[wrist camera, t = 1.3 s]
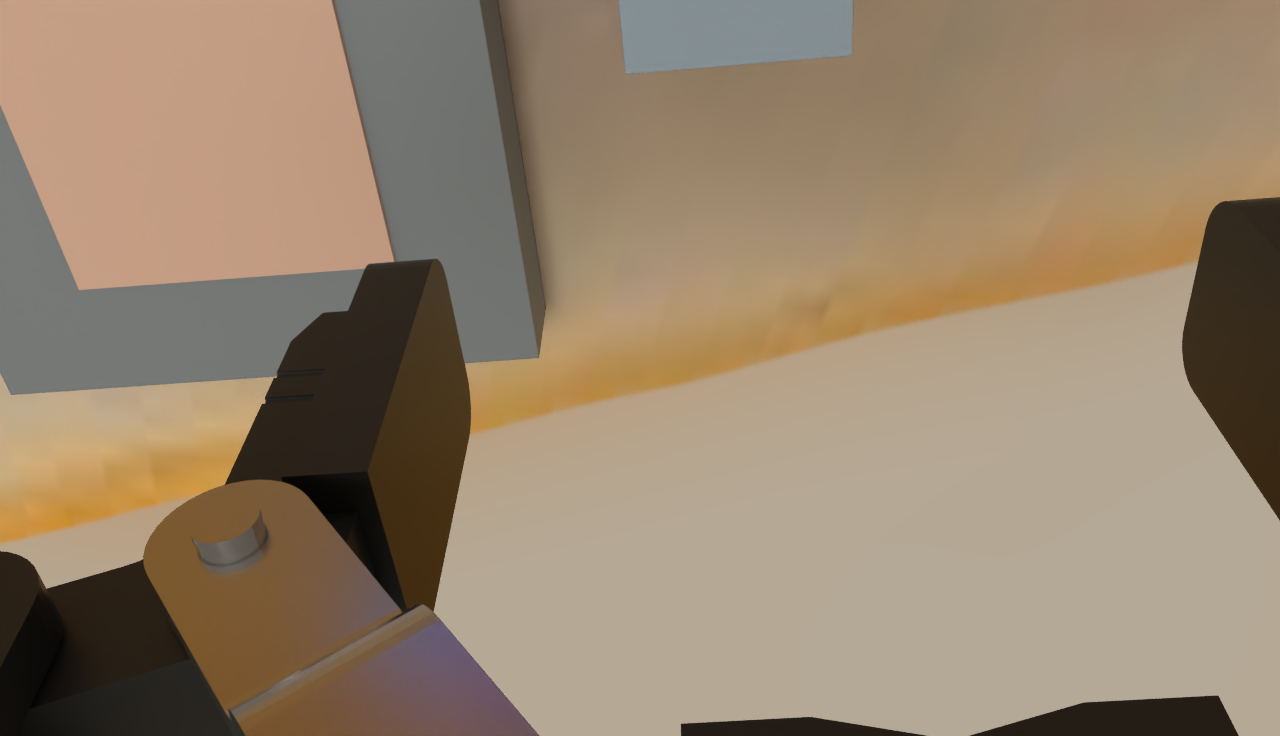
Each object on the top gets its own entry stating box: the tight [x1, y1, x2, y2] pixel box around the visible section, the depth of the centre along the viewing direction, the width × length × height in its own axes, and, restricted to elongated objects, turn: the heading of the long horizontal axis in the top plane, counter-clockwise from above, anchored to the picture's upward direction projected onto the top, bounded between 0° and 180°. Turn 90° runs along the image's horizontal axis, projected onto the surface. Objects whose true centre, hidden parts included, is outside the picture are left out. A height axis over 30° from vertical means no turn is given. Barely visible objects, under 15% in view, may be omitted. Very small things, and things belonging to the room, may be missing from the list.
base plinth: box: [0, 0, 546, 395], centre depth 31 cm, size 16×16×3 cm
